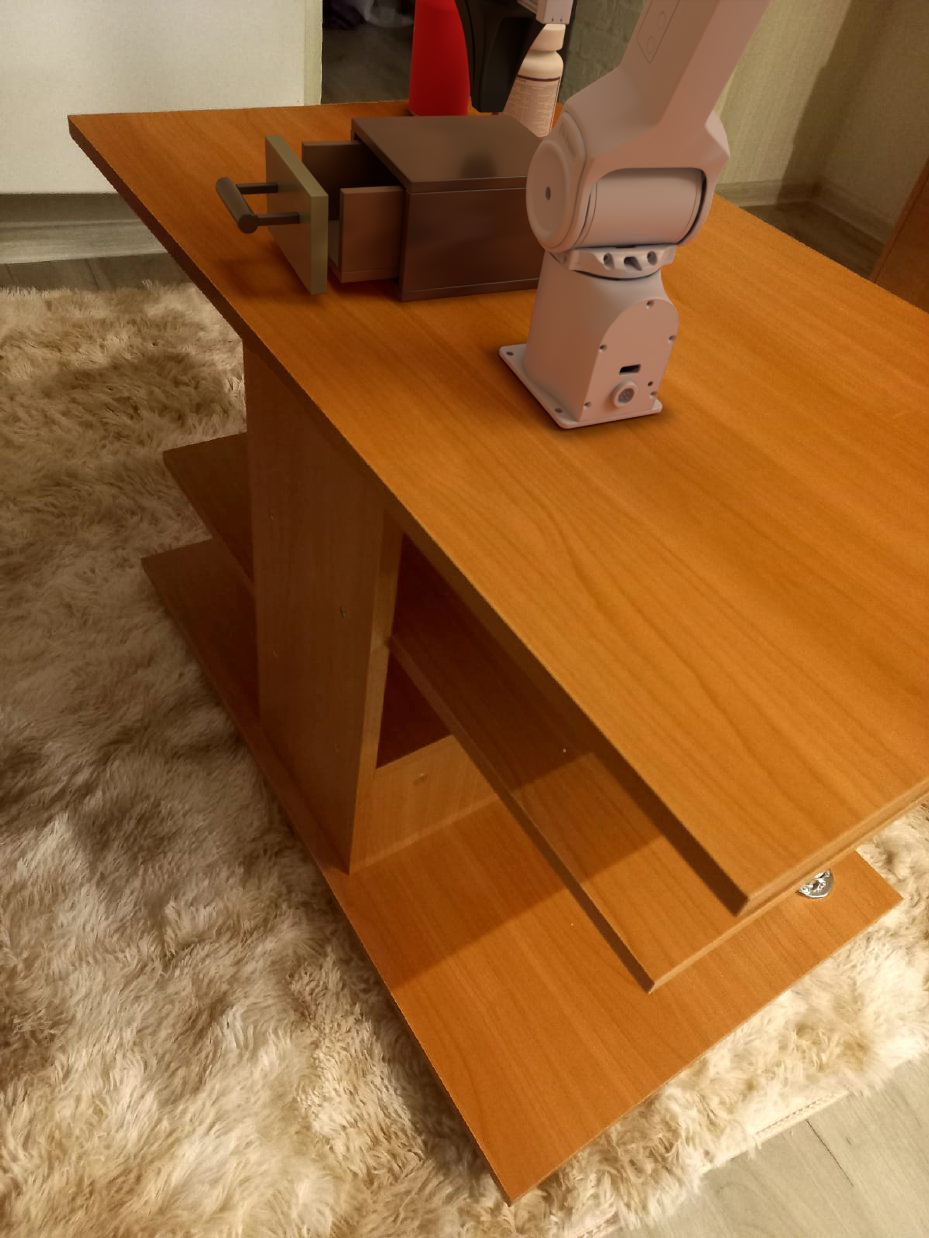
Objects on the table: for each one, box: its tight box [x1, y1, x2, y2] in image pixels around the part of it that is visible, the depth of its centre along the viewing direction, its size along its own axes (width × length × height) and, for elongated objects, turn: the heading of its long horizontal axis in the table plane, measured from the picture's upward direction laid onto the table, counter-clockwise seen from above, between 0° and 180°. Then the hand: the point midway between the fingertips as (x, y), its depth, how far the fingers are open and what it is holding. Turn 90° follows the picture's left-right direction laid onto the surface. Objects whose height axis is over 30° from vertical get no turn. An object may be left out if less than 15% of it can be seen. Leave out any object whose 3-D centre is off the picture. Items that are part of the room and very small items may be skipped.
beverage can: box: [407, 0, 470, 117], centre depth 88 cm, size 6×6×12 cm
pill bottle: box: [491, 24, 566, 140], centre depth 85 cm, size 6×6×11 cm
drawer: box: [214, 134, 406, 296], centre depth 64 cm, size 17×10×7 cm, turn 115°
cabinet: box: [349, 114, 545, 303], centre depth 67 cm, size 14×12×9 cm
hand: (487, 109), depth 64 cm, fingers closed
